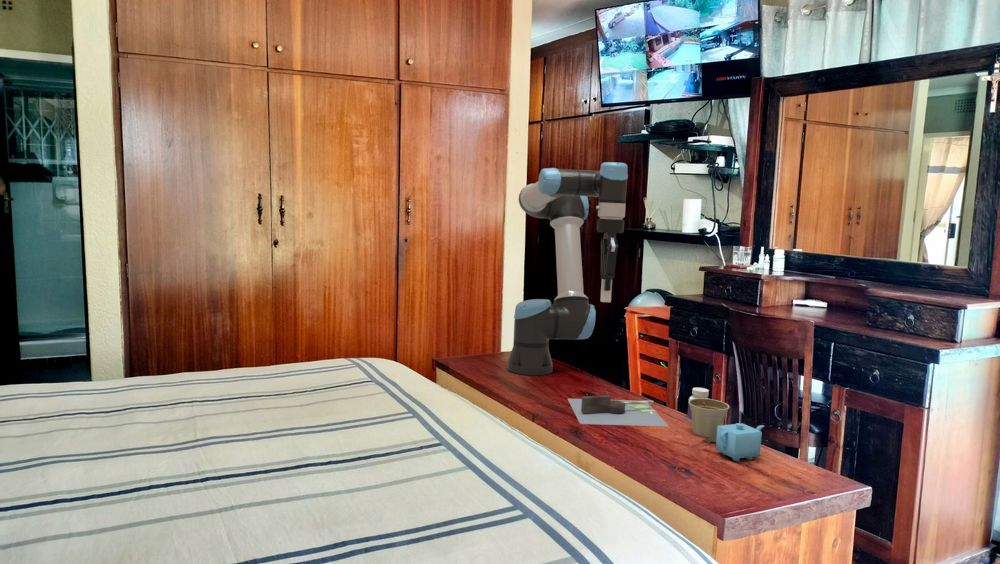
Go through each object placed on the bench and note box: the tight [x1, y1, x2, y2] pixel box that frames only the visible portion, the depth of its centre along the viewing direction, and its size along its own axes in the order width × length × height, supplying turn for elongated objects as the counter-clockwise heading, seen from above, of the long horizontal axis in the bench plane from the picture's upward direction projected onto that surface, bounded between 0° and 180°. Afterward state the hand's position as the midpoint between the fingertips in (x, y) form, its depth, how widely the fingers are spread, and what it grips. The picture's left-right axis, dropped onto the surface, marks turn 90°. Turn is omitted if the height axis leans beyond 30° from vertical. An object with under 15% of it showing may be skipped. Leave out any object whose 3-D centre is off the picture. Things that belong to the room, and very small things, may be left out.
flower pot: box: [688, 398, 730, 443], centre depth 163 cm, size 9×9×9 cm
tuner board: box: [567, 398, 670, 427], centre depth 177 cm, size 22×22×2 cm
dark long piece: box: [581, 394, 654, 413], centre depth 177 cm, size 21×5×4 cm, turn 109°
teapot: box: [715, 422, 765, 462], centre depth 152 cm, size 12×6×8 cm, turn 111°
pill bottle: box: [686, 387, 710, 424], centre depth 171 cm, size 5×5×10 cm
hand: (605, 301), depth 192 cm, fingers closed
